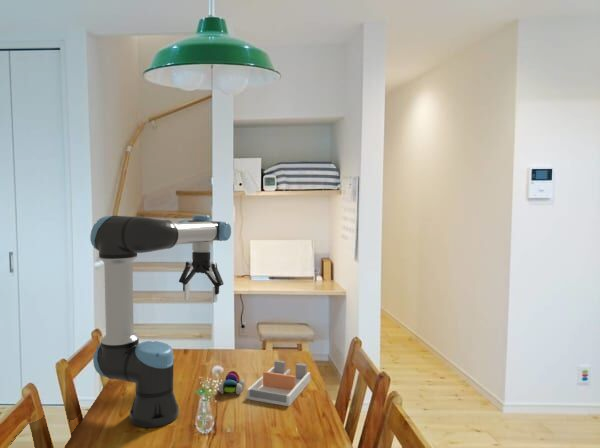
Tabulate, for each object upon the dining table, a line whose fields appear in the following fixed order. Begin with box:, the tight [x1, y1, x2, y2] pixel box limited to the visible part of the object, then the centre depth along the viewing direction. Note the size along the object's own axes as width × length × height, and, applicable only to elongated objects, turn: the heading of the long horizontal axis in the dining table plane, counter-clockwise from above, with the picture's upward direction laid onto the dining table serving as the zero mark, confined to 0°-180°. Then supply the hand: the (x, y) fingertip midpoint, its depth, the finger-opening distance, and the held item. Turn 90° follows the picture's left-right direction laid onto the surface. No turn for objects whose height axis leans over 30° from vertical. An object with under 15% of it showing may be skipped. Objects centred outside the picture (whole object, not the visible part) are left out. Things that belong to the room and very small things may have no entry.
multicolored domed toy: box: [218, 370, 246, 396], centre depth 170 cm, size 8×10×7 cm
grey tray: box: [246, 359, 311, 407], centre depth 173 cm, size 24×16×6 cm, turn 161°
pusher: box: [262, 368, 296, 390], centre depth 176 cm, size 11×13×5 cm
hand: (200, 300), depth 197 cm, fingers open, 13 cm apart
